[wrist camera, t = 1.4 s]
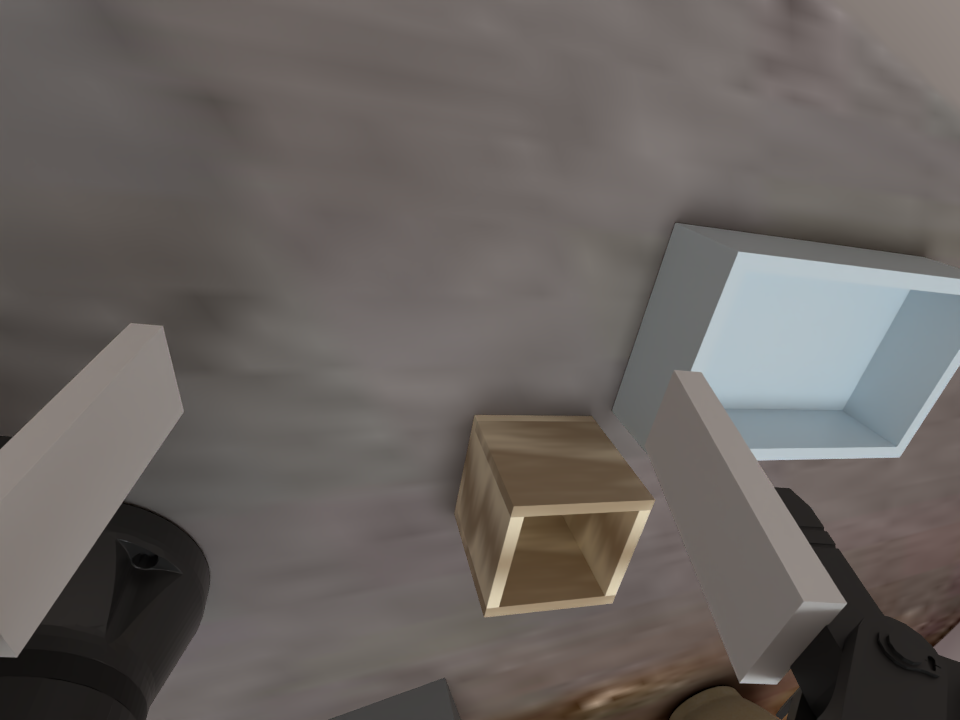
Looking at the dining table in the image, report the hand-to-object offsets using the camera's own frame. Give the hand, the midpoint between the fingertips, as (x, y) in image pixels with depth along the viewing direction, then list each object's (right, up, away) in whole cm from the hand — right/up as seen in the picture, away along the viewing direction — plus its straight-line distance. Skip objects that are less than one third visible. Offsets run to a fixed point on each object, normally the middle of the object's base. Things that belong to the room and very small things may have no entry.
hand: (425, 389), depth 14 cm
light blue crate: (+23, +3, +25) cm, 34 cm away
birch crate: (+5, -7, +26) cm, 27 cm away
